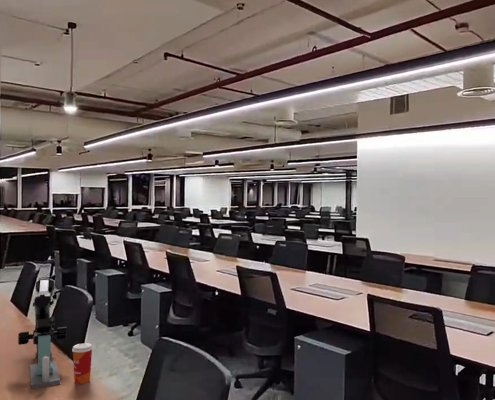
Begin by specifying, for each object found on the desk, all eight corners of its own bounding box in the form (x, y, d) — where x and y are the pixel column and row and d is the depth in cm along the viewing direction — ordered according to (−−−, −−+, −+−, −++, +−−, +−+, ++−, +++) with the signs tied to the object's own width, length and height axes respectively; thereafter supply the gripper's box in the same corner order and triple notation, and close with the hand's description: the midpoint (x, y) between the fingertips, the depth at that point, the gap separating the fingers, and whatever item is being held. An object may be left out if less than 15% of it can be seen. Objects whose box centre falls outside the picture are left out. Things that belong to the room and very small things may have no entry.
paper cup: (72, 379, 176) (72, 343, 176) (92, 376, 179) (92, 341, 179) (71, 386, 169) (71, 350, 169) (92, 383, 171) (93, 347, 171)
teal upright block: (35, 371, 179) (36, 336, 179) (52, 368, 182) (52, 334, 182) (36, 379, 171) (36, 343, 171) (53, 376, 174) (53, 340, 174)
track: (29, 368, 187) (29, 343, 187) (55, 364, 192) (55, 340, 192) (31, 388, 167) (31, 360, 167) (60, 383, 171) (60, 356, 171)
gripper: (18, 312, 182) (18, 347, 172) (67, 308, 190) (69, 340, 180) (18, 327, 188) (18, 361, 179) (65, 322, 197) (67, 354, 187)
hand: (43, 354), depth 181 cm, fingers closed, pressing on teal upright block
